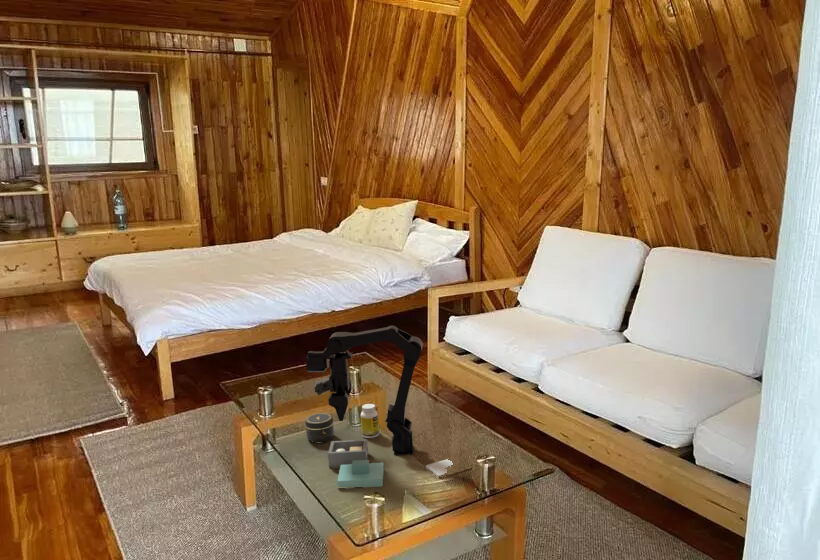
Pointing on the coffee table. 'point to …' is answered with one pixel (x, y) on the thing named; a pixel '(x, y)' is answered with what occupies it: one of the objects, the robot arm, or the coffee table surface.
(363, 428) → the pill bottle
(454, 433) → the coffee table surface
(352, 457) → the storage box
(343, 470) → the lid
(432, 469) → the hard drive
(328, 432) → the jar
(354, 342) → the robot arm
